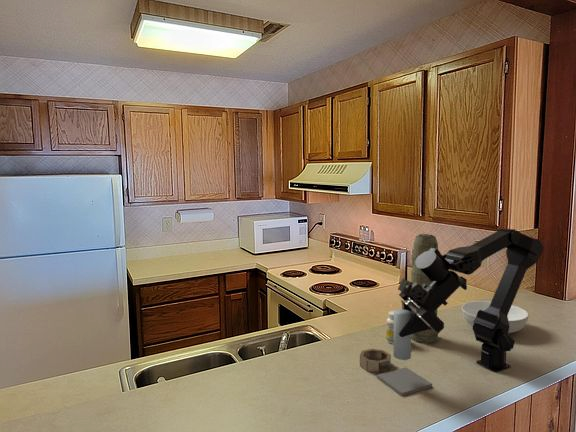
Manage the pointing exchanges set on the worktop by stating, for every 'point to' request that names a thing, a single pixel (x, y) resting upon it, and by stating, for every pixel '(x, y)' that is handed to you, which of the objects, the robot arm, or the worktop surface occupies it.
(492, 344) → the robot arm
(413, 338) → the thermos
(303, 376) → the worktop surface
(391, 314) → the supplement bottle
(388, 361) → the bronze collar
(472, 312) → the serving bowl
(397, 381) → the gray base plate
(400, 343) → the slate peg
